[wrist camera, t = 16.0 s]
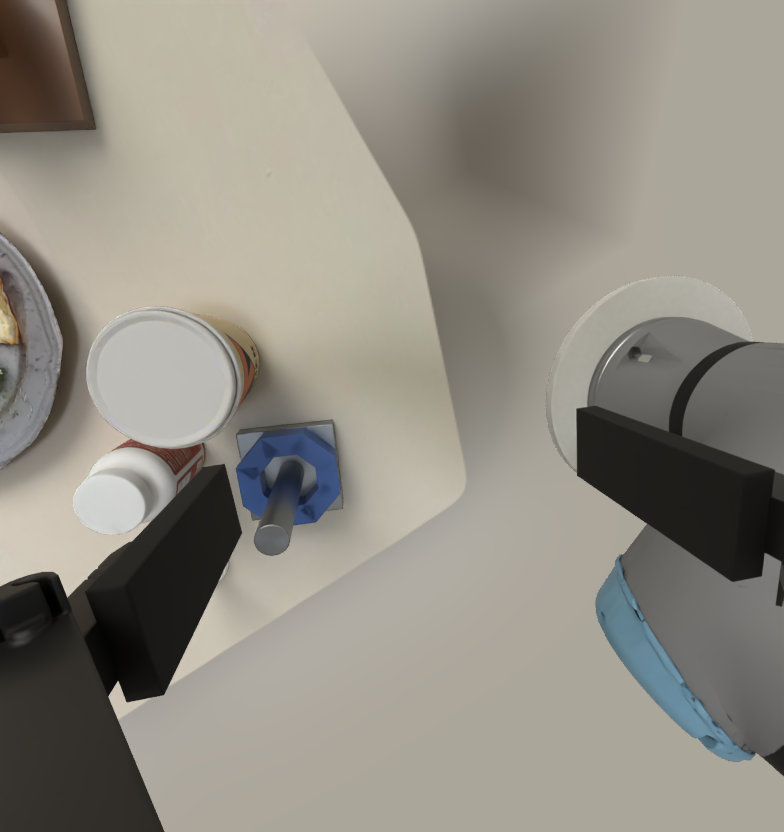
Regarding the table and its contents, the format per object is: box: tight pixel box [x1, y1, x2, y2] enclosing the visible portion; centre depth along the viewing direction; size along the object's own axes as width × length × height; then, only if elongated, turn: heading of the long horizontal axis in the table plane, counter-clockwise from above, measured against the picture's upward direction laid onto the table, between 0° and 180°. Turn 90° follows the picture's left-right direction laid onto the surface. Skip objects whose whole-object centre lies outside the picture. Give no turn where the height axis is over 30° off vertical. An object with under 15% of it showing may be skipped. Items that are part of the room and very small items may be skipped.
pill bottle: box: [73, 439, 204, 535], centre depth 33 cm, size 6×6×11 cm
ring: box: [236, 427, 340, 525], centre depth 38 cm, size 9×9×2 cm
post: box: [236, 420, 343, 556], centre depth 34 cm, size 9×9×14 cm
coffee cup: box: [86, 306, 259, 449], centre depth 31 cm, size 9×9×12 cm
